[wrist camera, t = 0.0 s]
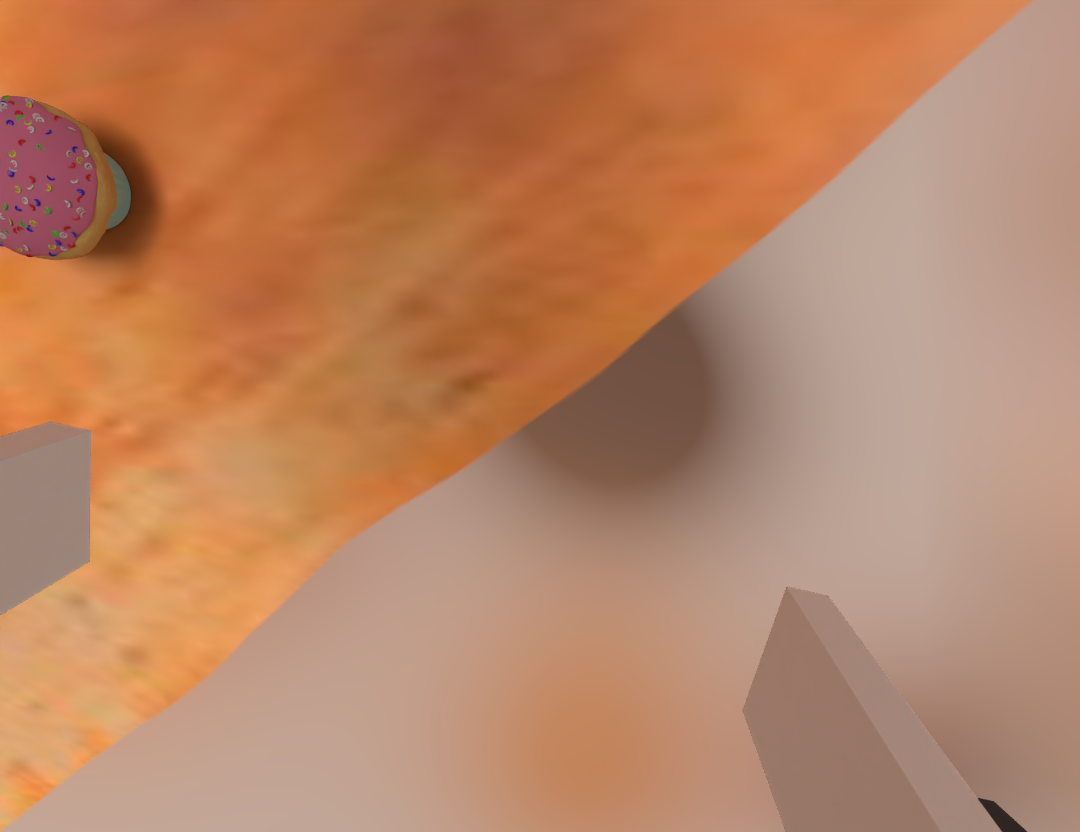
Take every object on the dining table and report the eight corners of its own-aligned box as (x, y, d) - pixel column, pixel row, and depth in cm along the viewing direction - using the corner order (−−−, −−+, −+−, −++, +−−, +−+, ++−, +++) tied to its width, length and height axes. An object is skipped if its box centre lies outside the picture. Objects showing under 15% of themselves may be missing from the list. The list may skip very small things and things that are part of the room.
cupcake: (6, 177, 38) (-249, 138, 26) (91, 84, 36) (-143, -1, 24) (104, 286, 39) (-98, 296, 28) (190, 202, 37) (14, 175, 26)
